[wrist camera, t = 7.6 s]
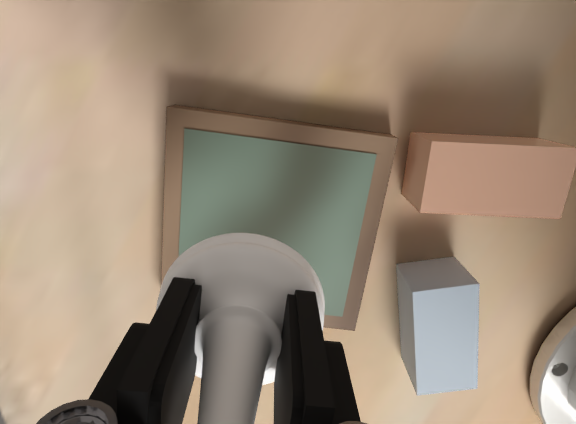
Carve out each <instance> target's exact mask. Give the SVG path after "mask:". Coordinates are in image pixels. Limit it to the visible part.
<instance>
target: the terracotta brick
mask: <svg viewBox="0 0 576 424" xmlns="http://www.w3.org/2000/svg"><path fill="white" fill-rule="evenodd" d="M575 168H576V147H574V146H569V145H565V144H561V143H557V142H553V141H548V140H544V139H540V138H527V137H506V136H485V135H464V134H443V133H422V132H411V133H410V139H409V146H408V153H407V159H406V166H405V173H404V179H403V186H402V193H401V194H402V195H403V196H404V197H405V198H406V199H407V200H408V201H409V202H410V203H411V204H412V205H413V206H414V207H415V208H416V209H417V210H418V211H419V212H420V213H435V214H458V215H481V216H503V217H526V218H549V219H561V216H562V213H563V209H564V206H565V202H566V199H567V196H568V192H569V189H570V185H571V182H572V179H573V175H574V172H575Z"/></svg>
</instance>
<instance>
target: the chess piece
mask: <svg viewBox="0 0 576 424" xmlns="http://www.w3.org/2000/svg"><path fill="white" fill-rule="evenodd" d="M174 277H180V278H189V279H195V285H201V286H202V293H201V305H200V314H199V323H198V325H197V326H196V334H195V354H196V356H197V365H196V372H195V375H196V376H197V377H199V378H201V390H200V402H199V413H198V424H254V421H255V416H256V411H257V406H258V401H259V397H260V392H261V387H262V385H265V384H268V383H272V382H274V381H275V371H276V364H277V359H278V357H279V355H280V352H281V346H282V338H281V335H282V328H283V320H284V313H285V306H286V299H287V295H288V294H292V295H294V293H295V290H304V291H314V292H315V293H316V297H317V303H318V309H319V315H320V321H321V327H322V331H323V326H324V311H325V300H324V293H323V289H322V286H321V283H320V281H319V278H318V276H317V274H316V273H315V271H314V270H313V268H312V267H311V265H310V264H309V263H308V262H307V261H306V260H305V259H304V258H303V257H302V256H301V255H300V254H299V253H298V252H296V251H295V250H294V249H292V248H291V247H289V246H288V245H286V244H284V243H282V242H280V241H278V240H275V239H273V238H270V237H266V236H263V235H258V234H252V233H229V234H222V235H218V236H214V237H211V238H208V239H205V240H203V241H201V242H199V243H197V244H195V245H193V246H192V247H190V248H189V249H187V250H186V251H185V252H183V253H182V254H181V255H180V256H179V257H178V258H177V259H176V260H175V261H174V263H173V264H172V265H171V266H170V268H169V270H168V271H167V273H166V275H165V277H164V279H163V282H162V285H161V289H160V294H159V297H158V301H157V307H156V311H157V309H158V307H159V305H160V303H161V301H162V299H163V297H164V295H165V293H166V291H167V289H168V287H169V285H170V283H171V281H172V279H173V278H174Z"/></svg>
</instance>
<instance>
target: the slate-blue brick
mask: <svg viewBox="0 0 576 424" xmlns="http://www.w3.org/2000/svg"><path fill="white" fill-rule="evenodd" d="M396 273H397V290H398V307H399V325H400V342H401V358H402V360H403V362H404V365H405V367H406V370H407V372H408V374H409V377H410V379H411V382H412V384H413V387H414V389H415V391H416V394H417V395H426V394H435V393H443V392H452V391H460V390H469V389H477V381H478V330H479V283H478V282H477V281H476V279H475V278H474V277H473V276H472V275H471V274H470V273H469V272H468V271H467V270H466V269H465V268H464V267H463V266H462V265H461V263H460V262H459V261H458V260H457V259H456V258H455V257H446V258H439V259H431V260H423V261H415V262H408V263H400V264H396Z"/></svg>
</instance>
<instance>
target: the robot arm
mask: <svg viewBox="0 0 576 424" xmlns="http://www.w3.org/2000/svg"><path fill="white" fill-rule="evenodd" d="M201 293H202V286H201V285H195V279H189V278H180V277H174V278H173V279H172V281H171V283H170V285H169V287H168V289H167V291H166V293H165V295H164V297H163V299H162V301H161V303H160V305H159V307H158V309H157V311H156V313H155V315H154V317H153V319H152V320H151V322H150V324H145V323H133V324H132V325H131V327H130V328H129V330H128V332H127V333H126V335H125V337H124V339H123V340H122V342H121V344H120V346H119V347H118V349H117V351H116V353H115V354H114V356H113V358H112V359H111V361H110V363H109V365H108V366H107V368H106V370H105V372H104V373H103V375H102V377H101V378H100V380H99V382H98V384H97V385H96V387H95V389H94V391H93V392H92V394H91V396H90V398H89V399H88V400H77V401H73V402H70V403H66V404H63V405H61V406H59V407H57V408H55V409H53V410H51V411H50V412H49V413H47V414H46V415H45V416H44V417H42V418H41V419H40V420H39V421H38V422H37V423H36V424H182V422H183V418H184V414H185V410H186V407H187V403H188V399H189V396H190V392H191V388H192V385H193V381H194V377H195V372H196V365H197V356H196V354H195V334H196V326H197V325H198V323H199V314H200V305H201ZM281 338H282V346H281V352H280V355H279V357H278V359H277V364H276V371H275V381H274V424H367V423H362V422H361V421H360V417H359V413H358V408H357V404H356V400H355V396H354V392H353V387H352V383H351V379H350V375H349V371H348V366H347V362H346V358H345V354H344V349H343V346H342V344H341V343H340V342H333V341H324V338H323V332H322V327H321V321H320V315H319V309H318V303H317V297H316V293H315V292H314V291H304V290H295V293H294V295H292V294H288V295H287V299H286V306H285V313H284V320H283V328H282V335H281ZM530 397H531V401H532V405H533V409H534V411H535V412H536V414H537V416H538V417H539V419H540V421H541V422H542V424H576V307H575V308H574V309H572V310H571V311H570V312H569V313H568V314H567V315H566V316H565V317H564V318H563V319H562V320H561V321H560V322H559V323H558V324H557V325H556V326H555V327H554V328H553V330H552V331H551V332H550V334H549V335H548V336H547V338H546V339H545V341H544V342H543V343H542V345H541V347H540V350H539V352H538V354H537V356H536V358H535V360H534V363H533V367H532V371H531V375H530Z"/></svg>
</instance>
